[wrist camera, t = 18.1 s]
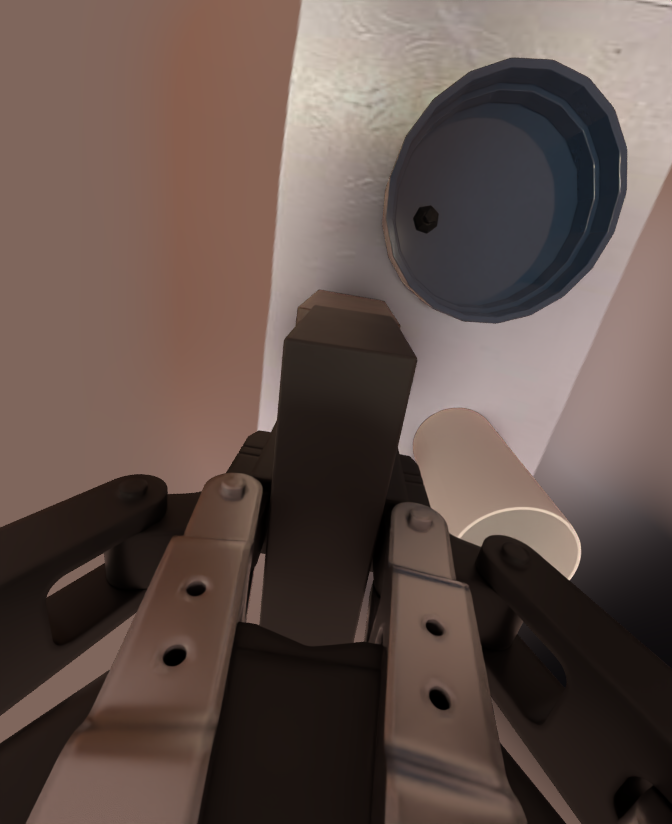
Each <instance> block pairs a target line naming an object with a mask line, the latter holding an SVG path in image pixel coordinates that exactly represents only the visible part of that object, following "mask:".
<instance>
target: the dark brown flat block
mask: <svg viewBox="0 0 672 824" xmlns="http://www.w3.org/2000/svg"><path fill="white" fill-rule="evenodd" d="M416 364H417V357H416V356H415V354H414V352H413V351H412V349H411V347H410V345H409V344H408V342H407V340H406V339H405V337H404V335H403V334H402V332H401V330H400V328H399V327H398V325H397V323H396V322H395V320H394V318H393V317H392V316H386V315H379V314H373V313H366V312H359V311H353V310H346V309H339V308H333V307H326V306H319V305H314V306H313V307H312V308H311V310H310V311H309V312H308V313H307V314H306V315H305V316H304V317H303V319H302V320H301V321H300V322H299V323H298V324H297V325H296V327H295V328H294V329H293V330H292V331H291V332H290V333H289V335H288V336H287V337H286V338H285V340H284V345H283V357H282V369H281V380H280V392H279V403H278V415H277V427H276V438H275V450H274V462H273V473H272V485H271V497H270V508H269V520H268V532H267V543H266V555H265V567H264V578H263V590H262V601H261V613H260V625H259V626H262V627H264V628H266V629H269V630H271V631H273V632H275V633H278V634H280V635H282V636H285V637H287V638H289V639H292V640H294V641H296V642H299V643H301V644H303V645H306V646H324V645H335V644H346V643H353V642H354V638H355V633H356V628H357V624H358V620H359V615H360V611H361V606H362V602H363V598H364V593H365V589H366V585H367V580H368V576H369V571H370V567H371V563H372V558H373V554H374V549H375V545H376V540H377V536H378V532H379V527H380V523H381V518H382V514H383V510H384V505H385V501H386V496H387V492H388V488H389V483H390V479H391V474H392V470H393V465H394V461H395V457H396V452H397V448H398V443H399V439H400V435H401V430H402V426H403V421H404V417H405V413H406V408H407V404H408V399H409V395H410V390H411V386H412V382H413V377H414V373H415V368H416Z"/></svg>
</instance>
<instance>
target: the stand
mask: <svg viewBox="0 0 672 824" xmlns="http://www.w3.org/2000/svg"><path fill="white" fill-rule="evenodd" d="M314 305H319V306H326V307H333V308H339V309H346V310H353V311H359V312H366V313H373V314H379V315H386V316H392V317H393V318H394V320H395V322H396V323H397V325H398V327H399V328H400V324H399V322H398V321H397V319H396V318H395V316H394V315H393V313H392V312H391V310H390V309H389V307H388V306H387V304H386V303H385V301H381V300H375V299H369V298H364V297H358V296H352V295H347V294H341V293H335V292H330V291H324V290H318V291H317V292H316V293H314V294H313V295H312V296H311V297H310V298H308V299H307V300H306V301H305V302H304V303H303V304H301V305H300V306H299V307H298V310H297V318H296V325H297V324H298V323H299V322H300V321H301V320H302V319H303V317H304V316H305V315H306V314H307V313H308V312H309V311H310V310H311V308H312V307H313V306H314Z"/></svg>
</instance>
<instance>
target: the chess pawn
mask: <svg viewBox="0 0 672 824" xmlns="http://www.w3.org/2000/svg"><path fill="white" fill-rule="evenodd" d="M438 216H439V213H438V212H437V211H436V210H435V209H434V208H433V207H432V206H431V205H430V206H424V207H419V209H418V211H417V212H416V214H415V216H414V217H413V221H414V224H415V228H416V230H417V231H420V232H423V233H426V234H427V233H429V232H430V231H431V230H433V229H434V228H435V227H437V223H438Z"/></svg>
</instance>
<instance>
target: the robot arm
mask: <svg viewBox="0 0 672 824" xmlns="http://www.w3.org/2000/svg"><path fill="white" fill-rule="evenodd" d="M276 427H277V421H276V423H275V425H274V427H273V429H272V431H271V432H265V431H257V432H255V433H253V434H252V435H250V436H248V438H247V439H246V441H245V443H244V444H243V446H242V447H241V449H240V451H239V453H238V454H237V456H236V457H235V459H234V461H233V462H232V464H231V466H230V467H229V469H228V471H227V472H226V473H225V474H221V475H218V476H215V477H213V478H211V479H210V480H209V481H207V482H206V484H205V485H204V488H203V490H202V491H201V492H196V493H186V494H168V492H167V485H166V483H165V482H164V481H163V480H162V479H160V478H158V477H155V476H151V475H143V474H136V475H128V476H124V477H120V478H117V479H114V480H112V481H110V482H107V483H105V484H102V485H100V486H98V487H95V488H93V489H91V490H88V491H86V492H83V493H81V494H79V495H76V496H74V497H72V498H69V499H67V500H65V501H62V502H60V503H57V504H55V505H53V506H50V507H48V508H46V509H43V510H41V511H38V512H36V513H34V514H31V515H29V516H27V517H24V518H22V519H19V520H17V521H15V522H12V523H10V524H8V525H5V526H3V527H0V716H1V715H2V714H3V713H5V712H6V711H7V710H8V709H10V708H11V707H12V706H14V705H15V704H16V703H18V702H19V701H20V700H22V699H23V698H24V697H26V696H27V695H28V694H29V693H31V692H32V691H34V690H35V689H36V688H37V687H39V686H40V685H41V684H43V683H44V682H45V681H47V680H48V679H49V678H51V677H52V676H53V675H55V674H56V673H57V672H59V671H60V670H61V669H62V668H64V667H65V666H66V665H68V664H69V663H70V662H72V661H73V660H74V659H76V658H77V657H78V656H80V655H81V654H82V653H84V652H85V651H86V650H87V649H89V648H90V647H91V646H93V645H94V644H95V643H97V642H98V641H99V640H101V639H102V638H103V637H105V636H106V635H107V634H108V633H110V632H111V631H112V630H114V629H115V628H116V627H118V626H119V625H120V624H122V623H123V622H124V621H125V620H127V619H128V618H130V617H131V616H132V615H134V614H135V613H136V612H137V613H136V615H135V617H134V619H133V621H132V623H131V626H130V628H129V630H128V632H127V634H126V636H125V638H124V641H123V643H122V645H121V647H120V649H119V652H118V654H117V656H116V658H115V660H114V662H113V664H112V666H111V669H110V670H109V671H107V672H106V673H104V674H103V675H101V676H100V677H98V678H97V679H95V680H94V681H92V682H91V683H89V684H88V685H86V686H85V687H84V688H82V689H80V690H79V691H77V692H76V693H74V694H73V695H72V696H70V697H68V698H67V699H65V700H64V701H62V702H61V703H59V704H58V705H57V706H55V707H54V708H52V709H51V710H49V711H48V712H46V713H45V714H43V715H42V716H40V717H39V718H37V719H36V720H34V721H33V722H31V723H30V724H28V725H27V726H25V727H24V728H22V729H21V730H19V731H18V732H17V733H15V734H14V735H12V736H11V737H9V738H8V739H6V740H5V741H3V742H2V743H0V824H566V823H565V822H564V821H563V819H562V818H561V817H560V816H559V814H558V813H557V812H556V811H555V809H554V808H553V807H552V806H551V804H550V803H549V802H548V801H547V800H546V798H545V797H544V796H543V795H542V793H541V792H540V791H539V790H538V789H537V787H536V786H535V785H534V784H533V782H532V781H531V780H530V779H529V777H528V776H527V775H526V774H525V773H524V771H523V770H522V769H521V768H520V766H519V765H518V764H517V763H516V762H515V760H514V759H513V758H512V757H511V755H510V754H509V753H508V752H507V751H506V749H505V748H504V747H503V746H502V744H501V743H500V741H499V736H498V731H497V726H496V720H495V715H494V710H493V705H492V700H491V697H492V698H493V700H494V701H495V703H496V704H497V705H498V707H499V708H500V710H501V711H502V712H503V714H504V715H505V717H506V718H507V719H508V721H509V722H510V724H511V725H512V727H513V728H514V729H515V731H516V732H517V734H518V735H519V736H520V738H521V739H522V741H523V742H524V743H525V745H526V746H527V747H528V749H529V751H530V752H531V753H532V755H533V756H534V758H535V759H536V760H537V762H538V763H539V764H540V766H541V767H542V769H543V770H544V772H545V773H546V774H547V776H548V777H549V779H550V780H551V781H552V783H553V784H554V786H555V787H556V788H557V790H558V791H559V793H560V794H561V796H562V797H563V798H564V800H565V801H566V803H567V804H568V805H569V807H570V808H571V810H572V811H573V813H574V814H575V815H576V817H577V818H578V820H579V821H580V822H581V824H672V669H671V668H670V667H669V666H668V665H666V664H665V663H664V662H663V661H662V660H661V659H659V658H658V657H657V656H656V655H655V654H654V653H653V652H651V651H650V650H649V649H648V648H647V647H646V646H644V645H643V644H642V643H641V642H640V641H639V640H638V639H636V638H635V637H634V636H633V635H632V634H631V633H629V632H628V631H627V630H626V629H625V628H624V627H623V626H621V625H620V624H619V623H618V622H617V621H616V620H614V619H613V618H612V617H611V616H610V615H609V614H608V613H606V612H605V611H604V610H603V609H602V608H601V607H599V606H598V605H597V604H596V603H595V602H593V601H592V600H591V599H590V598H589V597H588V596H587V595H586V594H584V593H583V592H582V591H581V590H580V589H579V588H577V587H576V586H575V585H574V584H573V583H572V582H571V581H569V580H568V579H567V578H566V577H565V576H564V575H562V574H561V573H560V572H559V571H558V570H557V569H555V568H554V567H553V566H552V565H551V564H550V563H549V562H547V561H546V560H545V559H544V558H543V557H542V556H540V555H539V554H538V553H537V552H536V551H535V550H533V549H532V548H531V547H529V546H528V545H526V544H525V543H523V542H521V541H519V540H517V539H514V538H512V537H508V536H504V535H491V536H488V537H487V538H485V539H484V541H483V544H482V546H481V547H480V546H478V545H475V544H472V543H470V542H467V541H465V540H462V539H460V538H457V537H455V536H454V535H452V534H450V533H449V530H448V525H447V522H446V521H445V519H444V518H443V517H442V516H441V515H440V514H439V513H438V512H437V511H435V510H433V509H432V508H431V507H430V503H429V500H428V496H427V493H426V490H425V486H424V485H423V479H422V477H421V472H420V469H419V466H418V464H417V463H416V462H415V461H414V460H413V459H412V458H411V457H410V456H406V455H400V454H399V451H398V448H397V452H396V457H395V461H394V465H393V470H392V474H391V479H390V483H389V488H388V492H387V496H386V501H385V505H384V510H383V514H382V518H381V523H380V527H379V532H378V536H377V540H376V545H375V549H374V554H373V558H372V563H371V567H370V572H373V577H374V580H373V584H372V587H371V591H370V596H369V605H368V613H367V621H366V630H365V639H364V642H356V643H346V644H335V645H324V646H306V645H303V644H301V643H299V642H296V641H294V640H292V639H289V638H287V637H285V636H282V635H280V634H278V633H275V632H273V631H271V630H269V629H266V628H264V627H262V626H259V625H257V624H252V623H246V620H247V614H248V608H249V601H250V595H251V589H252V583H253V576H254V567H255V566H256V564H257V562H258V558H259V555H260V553H263V554H266V543H267V532H268V520H269V508H270V497H271V485H272V473H273V462H274V450H275V438H276ZM103 553H104V557H105V563H104V564H102V565H101V566H99V567H97V568H96V569H94V570H93V571H91V572H89V573H87V574H86V575H84V576H82V577H81V578H79V579H77V580H76V581H74V582H72V583H71V584H69V585H67V586H66V587H64V588H62V589H61V590H59V591H57V592H56V593H54V594H52V595H51V596H49V597H47V594H48V592H49V590H50V588H51V587H52V586H53V585H54V584H55V583H56V582H57V581H58V580H59V579H60V578H61V577H63V576H64V575H66V574H68V573H69V572H71V571H73V570H74V569H76V568H78V567H80V566H82V565H83V564H85V563H87V562H89V561H90V560H92V559H94V558H96V557H97V556H99V555H101V554H103ZM46 597H47V598H46ZM523 622H524V623H525V624H526V625H527V626H528V627H529V628H530V629H531V630H532V631H533V633H534V634H535V635H536V636H537V637H538V638H539V639H540V640H541V641H542V642H543V643H544V644H545V646H546V647H547V648H548V649H549V650H550V651H551V652H552V653H553V654H554V655H555V656H556V657H557V659H558V660H559V661H560V663H561V664H562V666H563V669H564V671H565V674H566V678H567V685H566V688H564V687H563V686H562V685H561V683H560V682H559V681H558V680H557V679H556V678H555V676H554V675H553V674H552V673H551V672H550V671H549V670H548V669H547V667H546V666H545V665H544V664H543V663H542V662H541V661H540V659H539V658H538V657H537V656H536V655H535V654H534V653H533V651H532V650H531V649H530V648H529V647H528V646H527V645H526V643H525V642H524V641H523V640H522V639H521V638H520V637H519V636H518V634H517V633H518V630H519V628H520V627H521V625H522V623H523Z"/></svg>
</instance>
